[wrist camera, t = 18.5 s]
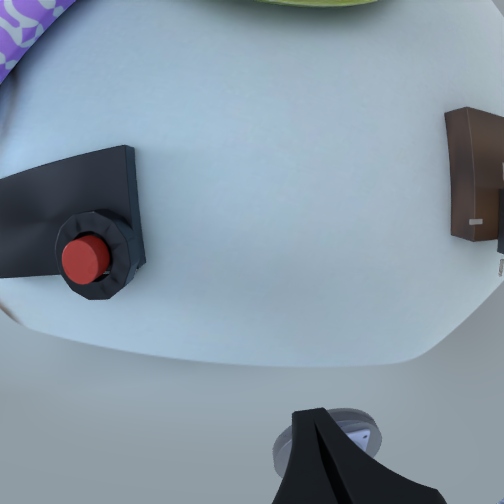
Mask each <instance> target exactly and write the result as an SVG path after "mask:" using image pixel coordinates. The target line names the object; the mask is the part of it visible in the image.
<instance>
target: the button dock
mask: <svg viewBox="0 0 504 504" xmlns="http://www.w3.org/2000/svg"><path fill="white" fill-rule="evenodd" d="M88 235H92V236H96V237H98V238H100V239H101V240H102V241H103V242H104V243H105V244H106V246H107V248H108V250H109V254H110V263H109V266H108V268H107V270H106V271H110V273H109V274H102V275H101V276H99V277H98V278H96V279H95V280H93V281H92V282H90V283H88V284H78V283H75V282H74V281H72V280H71V279H70V278H69V277H68V276H67V274H66V273H65V271H64V268H63V264H62V254H63V251H64V249H65V247H66V245H67V244H68V243H70V242H71V241H74V240H76V239H79V238H82V237H85V236H88ZM145 263H146V259H145V252H144V245H143V238H142V230H141V222H140V213H139V204H138V194H137V182H136V170H135V154H134V148H133V147H130V146H127V145H121V146H116V147H111V148H107V149H102V150H98V151H93V152H89V153H85V154H81V155H77V156H73V157H69V158H66V159H62V160H58V161H55V162H51V163H48V164H45V165H41V166H38V167H35V168H32V169H29V170H26V171H22V172H20V173H17V174H14V175H11V176H8V177H5V178H2V179H0V278H15V277H30V276H45V275H60V274H61V275H62V277H63V278H64V280H65V281H66V283H67V284H68V285H69V287H70V288H71V289H72V290H73V291H74V292H76V293H78V294H79V295H81V296H83V297H85V298H86V299H88V300H106V299H110V298H111V297H112V296H114V295H115V294H116V293H117V292H119V291H120V290H121V289H123V288H124V287H125V286H126V285H127V284H128V283H129V282H130V281H131V280H133V278H134V275H135V272H136V269H139V268H140V267H141V266H142V265H144V264H145Z"/></svg>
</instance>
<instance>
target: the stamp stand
mask: <svg viewBox="0 0 504 504" xmlns="http://www.w3.org/2000/svg"><path fill="white" fill-rule="evenodd" d="M445 120H446V128H447V136H448V145H449V157H450V171H451V201H452V215H451V235H453V236H456V237H459V238H463V239H466V240H469V241H473V242H476V241H486V240H495V239H498V233H499V189H504V117H501V116H498V115H495V114H491V113H488V112H485V111H481V110H477V109H474V108H470V107H464V108H460V109H456V110H453V111H449V112H446V113H445ZM503 263H504V260H503V259H501V260H500V268H499V275H498V276H502V271H503Z"/></svg>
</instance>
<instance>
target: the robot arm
mask: <svg viewBox="0 0 504 504" xmlns="http://www.w3.org/2000/svg"><path fill="white" fill-rule="evenodd" d="M369 436H370V430H369V429H363V430H358V431H354V432H350V433H344V431H343V430H342V429H341V428H340V427H339V426H338V425H337V423H336V422H335V421H334V420H333V419H332V417H331V416H330V415H329V413H328V412H327V411H326V409H325V408H316V409H309V410H302V411H295V412H294V413H292V447H291V452H290V456H289V461H288V464H287V468H286V471H285V474H284V477H283V480H282V482H281V485H280V487H279V490H278V492H277V494H276V496H275V498H274V500H273V503H272V504H447V503H446V501H445V499H444V498H443V496H442V495H441V494H440V493H439V491H438V490H437V489H433V488H431V487H427V486H424V485H421V484H418V483H416V482H413V481H411V480H409V479H407V478H405V477H402V476H401V475H399V474H397V473H395V472H393V471H391V470H389V469H388V468H386V467H385V466H383V465H382V464H380V463H379V462H377V461H376V460H375V459H373V458H372V457H370V456H369V455H368V454H367V453H366V452H365V451H366V447H367V443H368V440H369ZM497 504H504V499H502V500H501V501H499V502H498V503H497Z"/></svg>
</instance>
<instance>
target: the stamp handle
mask: <svg viewBox="0 0 504 504" xmlns="http://www.w3.org/2000/svg"><path fill="white" fill-rule="evenodd" d="M497 252H499V253H502V254H504V189H499V233H498V248H497Z"/></svg>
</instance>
